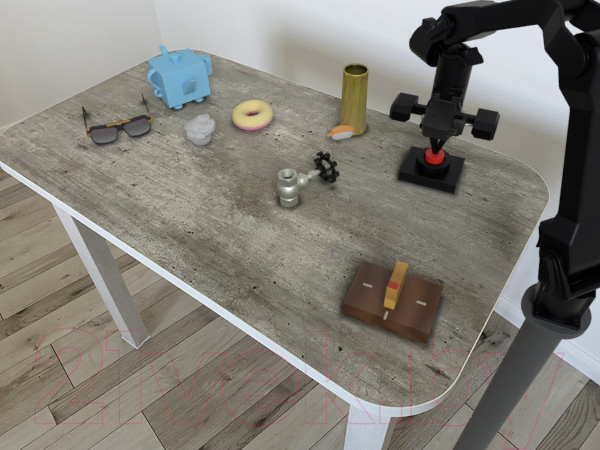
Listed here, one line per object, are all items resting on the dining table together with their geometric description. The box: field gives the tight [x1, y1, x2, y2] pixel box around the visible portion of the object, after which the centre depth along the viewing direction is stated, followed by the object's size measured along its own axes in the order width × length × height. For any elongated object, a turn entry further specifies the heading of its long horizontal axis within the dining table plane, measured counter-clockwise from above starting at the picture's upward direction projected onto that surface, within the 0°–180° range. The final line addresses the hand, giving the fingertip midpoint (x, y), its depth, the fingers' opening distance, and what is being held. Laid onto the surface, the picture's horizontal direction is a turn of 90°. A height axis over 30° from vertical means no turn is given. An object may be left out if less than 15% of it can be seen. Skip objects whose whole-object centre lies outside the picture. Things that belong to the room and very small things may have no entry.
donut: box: [231, 99, 274, 132], centre depth 110 cm, size 10×5×9 cm
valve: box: [276, 150, 341, 208], centre depth 91 cm, size 7×7×12 cm
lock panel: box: [341, 260, 444, 345], centre depth 74 cm, size 13×10×3 cm
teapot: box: [146, 44, 213, 110], centre depth 115 cm, size 16×18×11 cm
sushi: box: [326, 124, 355, 141], centre depth 105 cm, size 3×6×3 cm, turn 105°
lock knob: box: [384, 260, 409, 310], centre depth 71 cm, size 6×2×5 cm, turn 156°
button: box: [424, 147, 445, 164], centre depth 94 cm, size 4×4×2 cm
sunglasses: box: [81, 93, 153, 145], centre depth 110 cm, size 14×15×5 cm
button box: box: [397, 145, 466, 195], centre depth 95 cm, size 11×9×4 cm
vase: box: [338, 62, 370, 136], centre depth 103 cm, size 6×6×14 cm
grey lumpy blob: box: [183, 113, 217, 147], centre depth 103 cm, size 6×7×7 cm
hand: (435, 153), depth 93 cm, fingers closed, pressing on button
